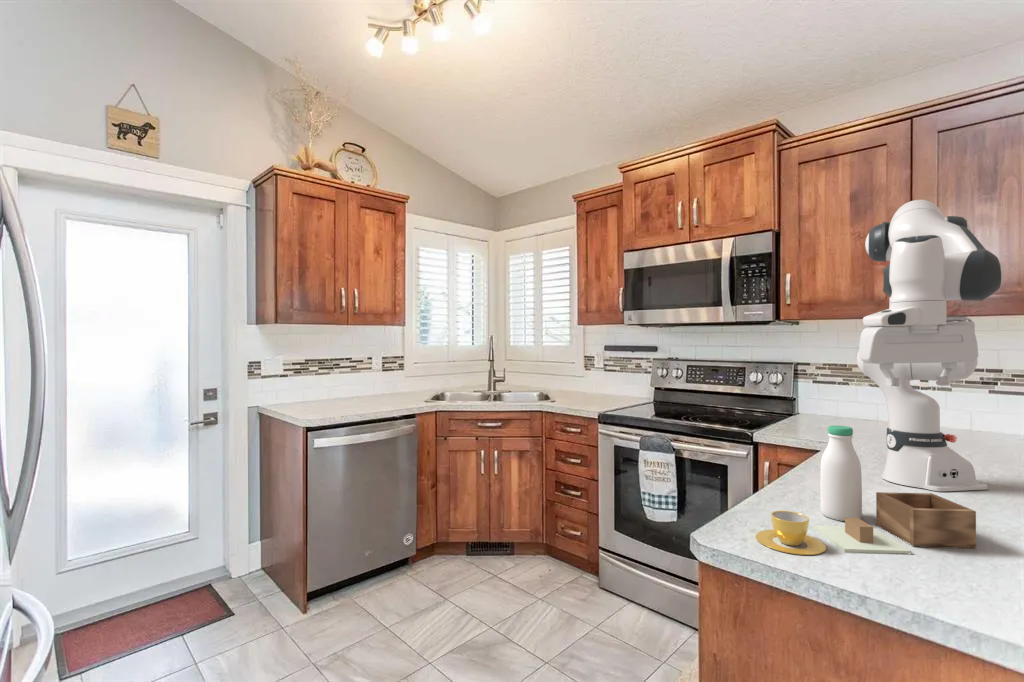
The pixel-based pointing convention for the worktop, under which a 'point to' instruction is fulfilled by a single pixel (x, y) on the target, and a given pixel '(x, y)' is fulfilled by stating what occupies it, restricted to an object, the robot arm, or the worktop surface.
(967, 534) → the box
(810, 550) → the cup
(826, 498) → the milk bottle
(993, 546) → the worktop surface
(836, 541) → the lid
